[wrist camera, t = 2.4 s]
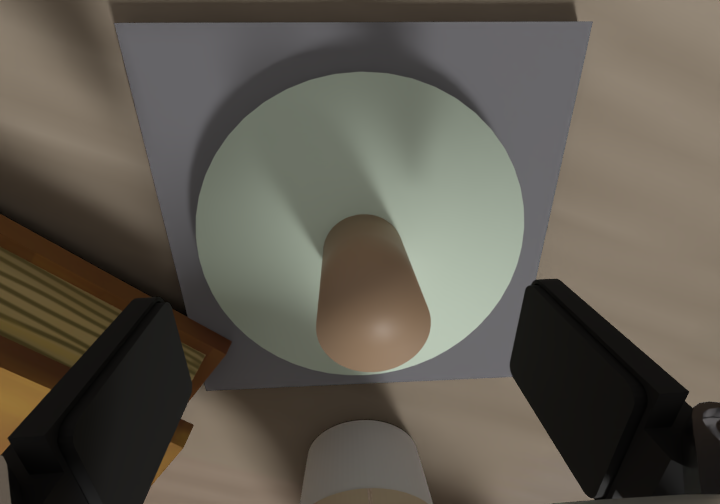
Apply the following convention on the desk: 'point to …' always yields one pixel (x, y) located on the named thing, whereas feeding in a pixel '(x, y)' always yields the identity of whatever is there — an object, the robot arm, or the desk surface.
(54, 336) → the diary
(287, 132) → the lid
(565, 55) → the mat
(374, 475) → the coffee cup
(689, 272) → the desk surface
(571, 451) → the robot arm
